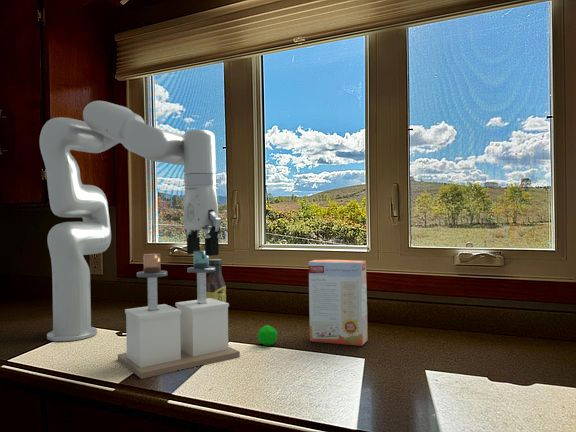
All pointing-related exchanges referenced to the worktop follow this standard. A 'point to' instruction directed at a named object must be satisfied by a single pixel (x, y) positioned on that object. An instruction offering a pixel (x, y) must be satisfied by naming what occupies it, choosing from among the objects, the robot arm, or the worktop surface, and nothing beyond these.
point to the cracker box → (338, 302)
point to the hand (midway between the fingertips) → (202, 254)
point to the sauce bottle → (216, 282)
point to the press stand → (176, 337)
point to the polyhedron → (267, 335)
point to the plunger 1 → (152, 278)
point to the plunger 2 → (201, 274)
